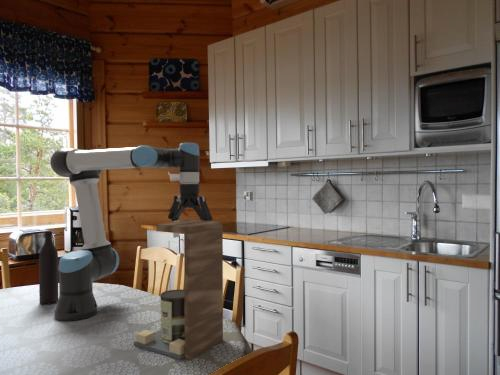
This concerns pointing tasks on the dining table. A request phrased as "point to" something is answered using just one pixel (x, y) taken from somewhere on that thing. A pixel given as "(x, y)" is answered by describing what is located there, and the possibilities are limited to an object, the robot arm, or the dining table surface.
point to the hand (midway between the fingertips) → (189, 238)
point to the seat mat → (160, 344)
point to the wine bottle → (48, 271)
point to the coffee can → (172, 315)
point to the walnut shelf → (201, 282)
